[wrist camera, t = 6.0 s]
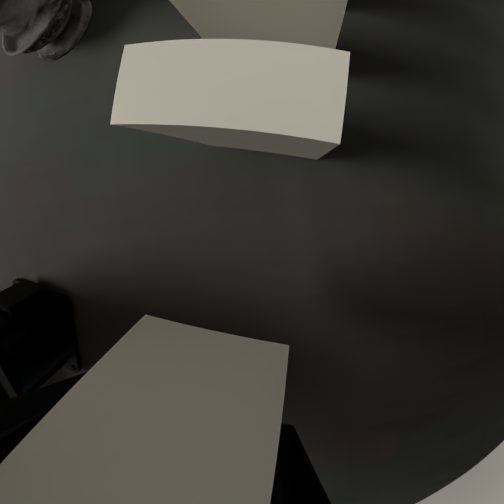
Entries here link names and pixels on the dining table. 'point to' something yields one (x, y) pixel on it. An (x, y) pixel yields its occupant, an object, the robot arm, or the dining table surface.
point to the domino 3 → (159, 424)
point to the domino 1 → (266, 20)
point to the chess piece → (43, 26)
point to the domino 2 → (235, 93)
